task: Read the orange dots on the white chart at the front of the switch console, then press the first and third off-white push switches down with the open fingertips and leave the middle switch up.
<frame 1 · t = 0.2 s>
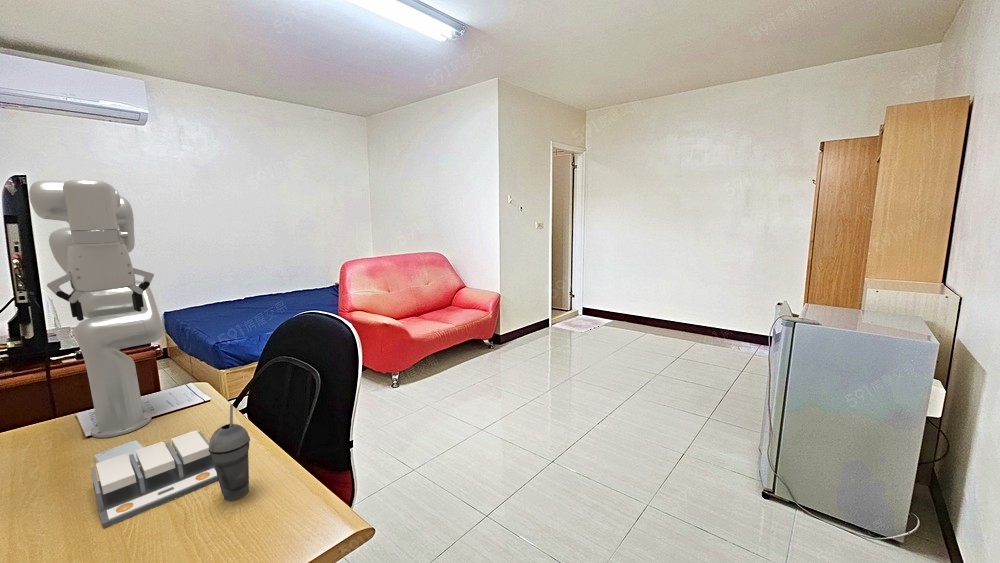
hand: (110, 315, 94), 36 cm above the table, tool pointing down, fingers open, 9 cm apart
switch console: (160, 482, 92), on the table
button 2: (155, 460, 93), point 5 cm above the table, slide at 0.0 cm
hard drive: (124, 461, 101), on the table
beverage cup: (236, 494, 88), on the table
button 1: (115, 474, 88), point 5 cm above the table, slide at 0.0 cm
button 3: (190, 447, 97), point 4 cm above the table, slide at 0.0 cm
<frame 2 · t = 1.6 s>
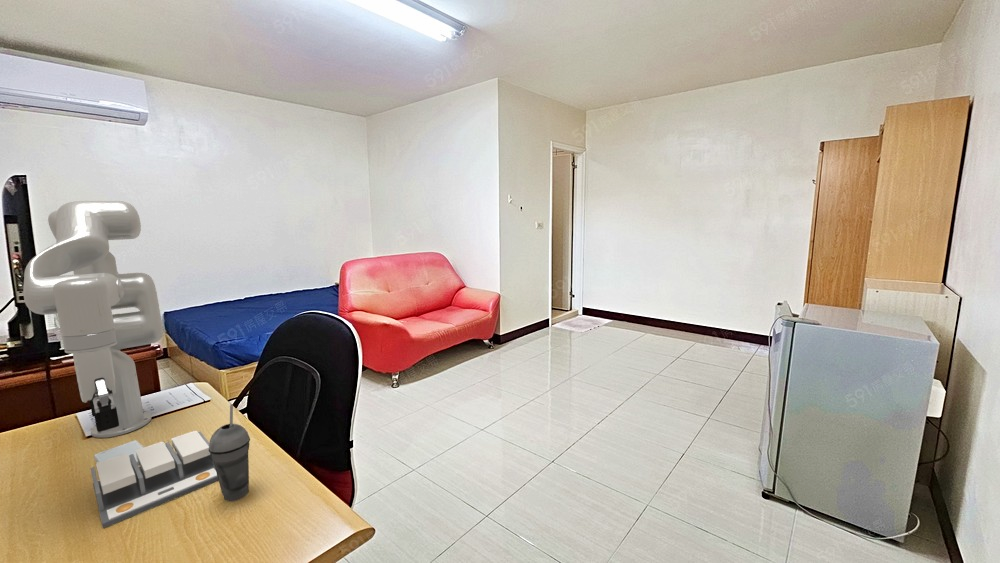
hand: (105, 421, 85), 17 cm above the table, tool pointing down, fingers open, 9 cm apart
nothing on the table moved.
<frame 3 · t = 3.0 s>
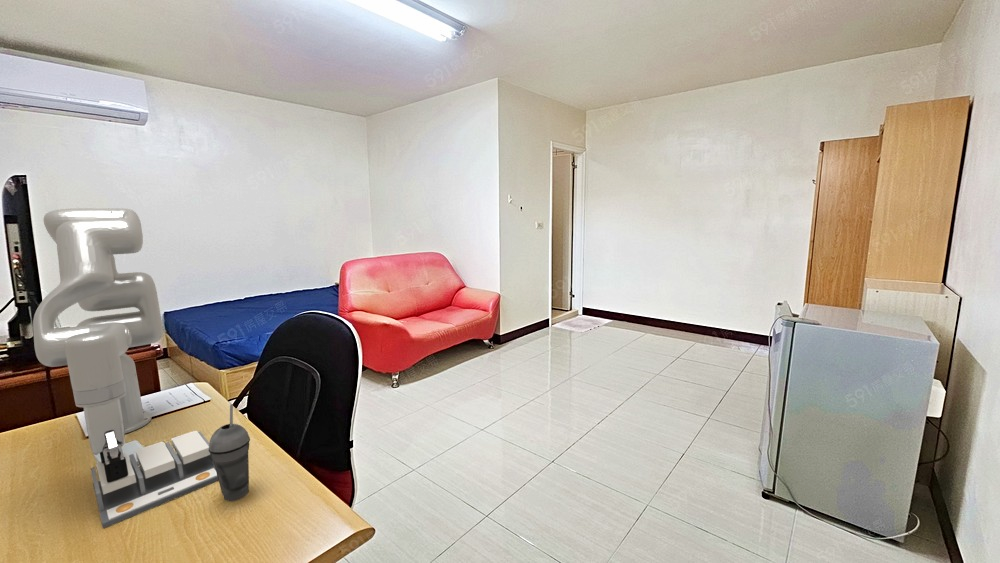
hand: (114, 469, 87), 6 cm above the table, tool pointing down, fingers open, 9 cm apart
button 1: (115, 474, 88), point 4 cm above the table, slide at 0.0 cm, touching gripper
everything else where it was.
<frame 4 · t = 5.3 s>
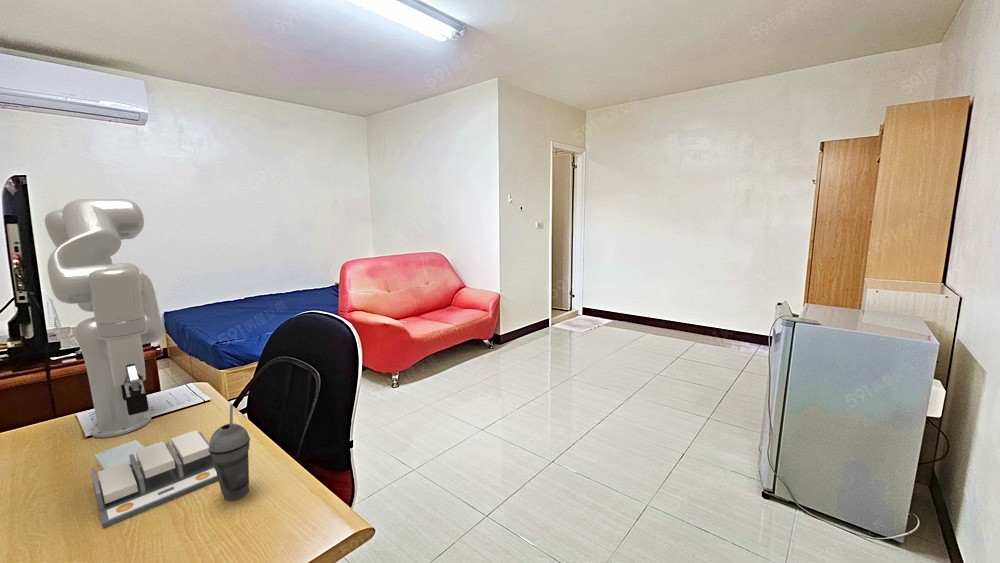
hand: (135, 405, 89), 18 cm above the table, tool pointing down, fingers open, 9 cm apart
button 1: (117, 483, 88), point 2 cm above the table, slide at 2.1 cm
everything else where it was.
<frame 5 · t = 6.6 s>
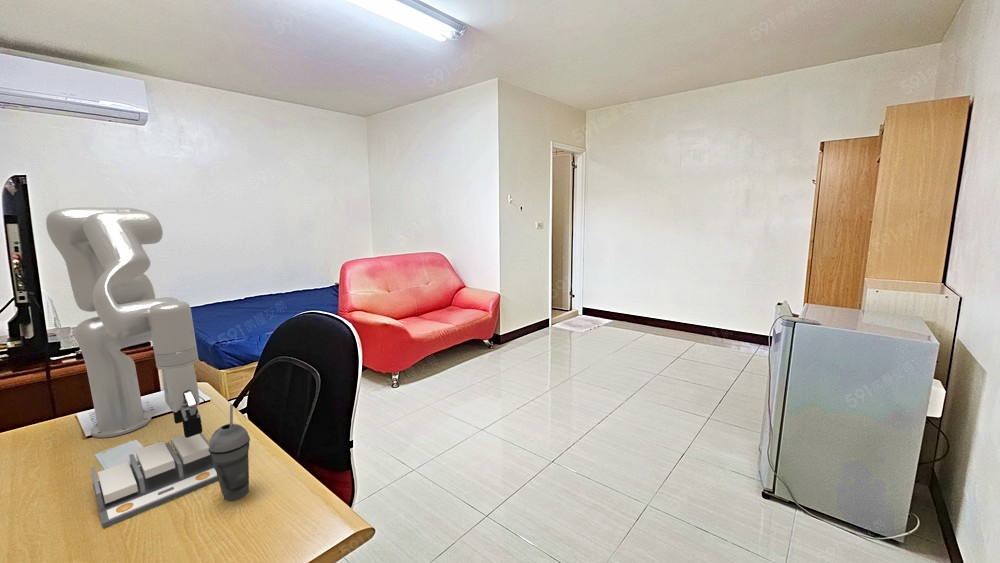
hand: (188, 427, 96), 10 cm above the table, tool pointing down, fingers open, 9 cm apart
nothing on the table moved.
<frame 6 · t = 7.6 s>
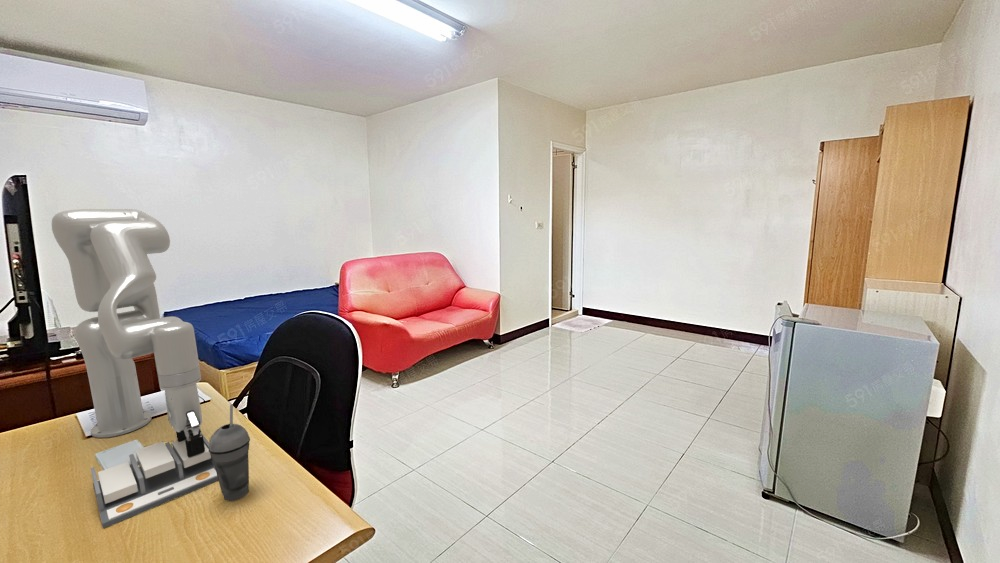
hand: (191, 446, 97), 5 cm above the table, tool pointing down, fingers open, 9 cm apart
button 3: (191, 451, 98), point 4 cm above the table, slide at 0.9 cm, touching gripper
everything else where it was.
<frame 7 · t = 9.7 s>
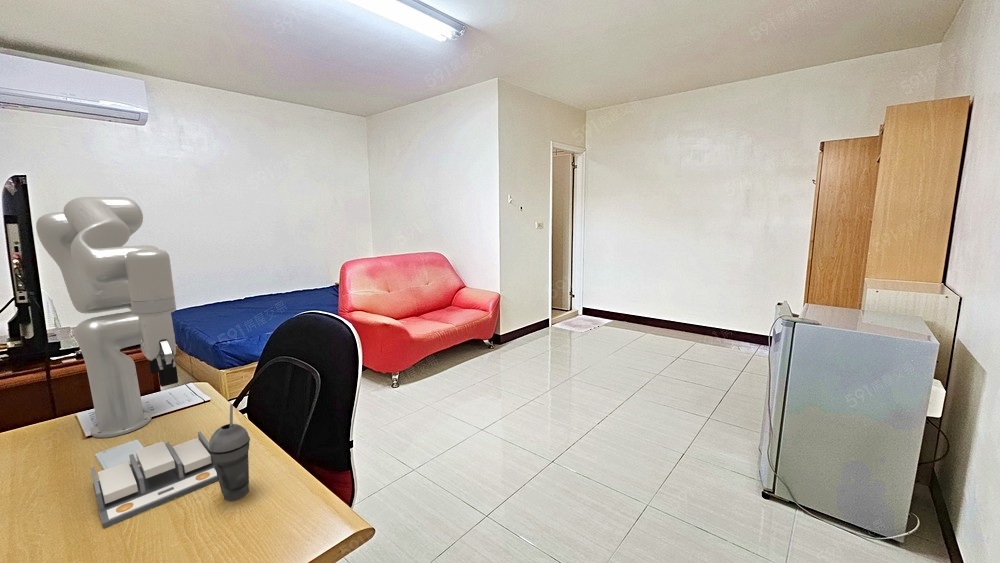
hand: (164, 377, 96), 21 cm above the table, tool pointing down, fingers open, 9 cm apart
button 3: (191, 456, 98), point 2 cm above the table, slide at 2.1 cm
everything else where it was.
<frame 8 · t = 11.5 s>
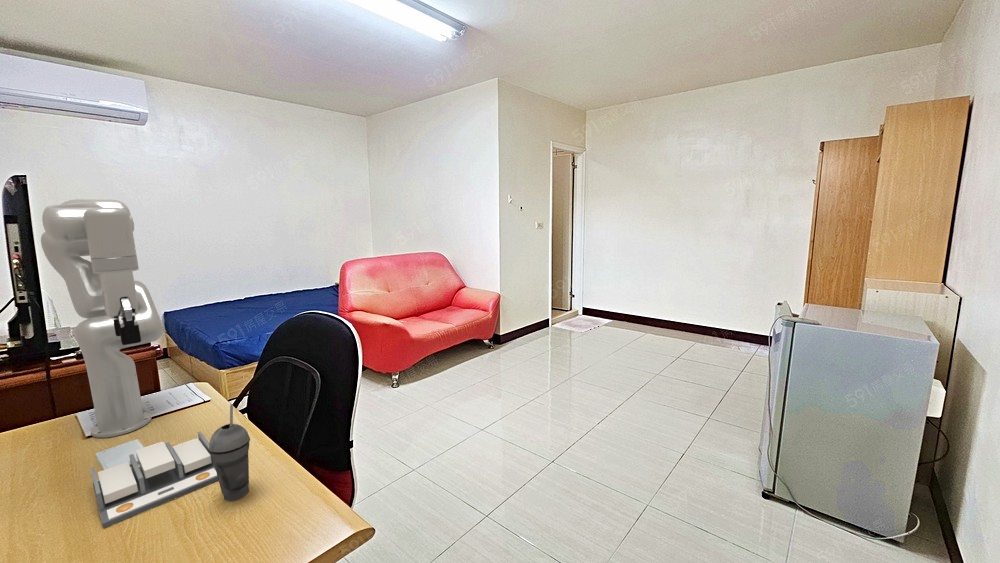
hand: (128, 338, 95), 30 cm above the table, tool pointing down, fingers open, 9 cm apart
nothing on the table moved.
at the end: button 1 slide at 2.1 cm; button 2 slide at 0.0 cm; button 3 slide at 2.1 cm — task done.
